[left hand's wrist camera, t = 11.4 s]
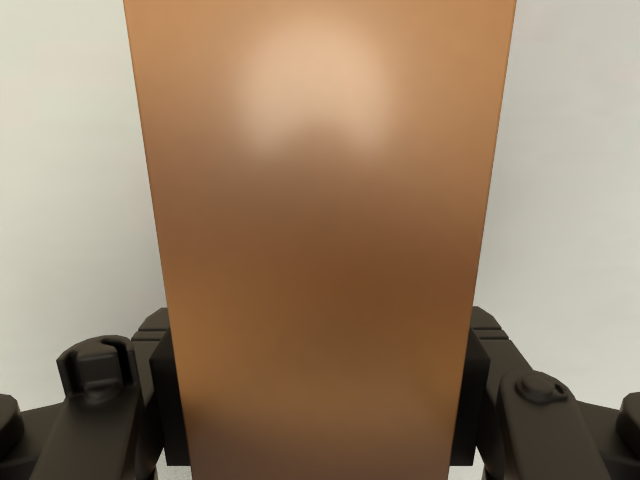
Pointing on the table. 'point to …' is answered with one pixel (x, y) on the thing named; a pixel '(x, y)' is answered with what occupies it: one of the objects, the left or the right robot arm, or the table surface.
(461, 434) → the left robot arm
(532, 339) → the table surface
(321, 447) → the bar
